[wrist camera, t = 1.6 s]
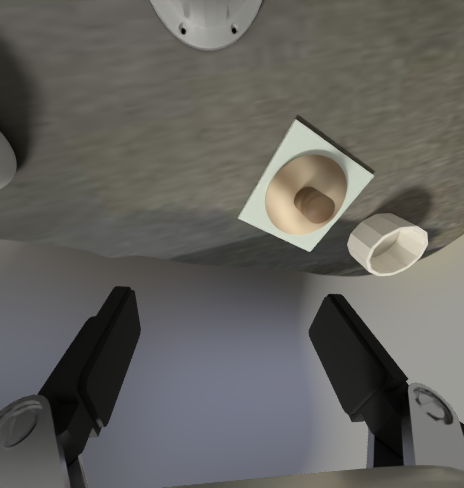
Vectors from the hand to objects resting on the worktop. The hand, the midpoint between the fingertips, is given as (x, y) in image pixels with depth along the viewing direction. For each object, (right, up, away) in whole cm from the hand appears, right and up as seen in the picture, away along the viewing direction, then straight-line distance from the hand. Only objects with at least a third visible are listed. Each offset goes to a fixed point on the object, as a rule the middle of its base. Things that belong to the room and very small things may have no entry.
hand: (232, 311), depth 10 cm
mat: (+12, +11, +23) cm, 28 cm away
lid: (+12, +11, +22) cm, 28 cm away
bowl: (+28, +5, +28) cm, 40 cm away
